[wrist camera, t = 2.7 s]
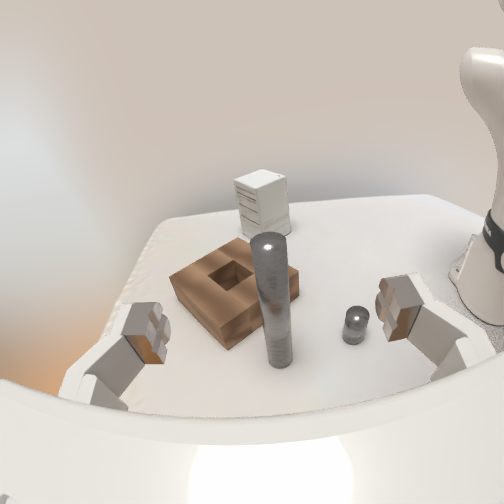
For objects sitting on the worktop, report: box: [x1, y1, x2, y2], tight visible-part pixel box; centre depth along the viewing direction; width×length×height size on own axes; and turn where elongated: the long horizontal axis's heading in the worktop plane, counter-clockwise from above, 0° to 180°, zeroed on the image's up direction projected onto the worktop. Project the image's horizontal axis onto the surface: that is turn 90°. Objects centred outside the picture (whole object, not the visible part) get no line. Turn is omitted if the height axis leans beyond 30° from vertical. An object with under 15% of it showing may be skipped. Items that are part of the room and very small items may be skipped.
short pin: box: [342, 306, 369, 345], centre depth 33 cm, size 3×3×4 cm
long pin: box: [250, 232, 292, 368], centre depth 28 cm, size 3×3×18 cm
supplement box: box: [234, 169, 290, 239], centre depth 54 cm, size 7×7×13 cm
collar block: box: [169, 238, 299, 350], centre depth 42 cm, size 14×14×5 cm
